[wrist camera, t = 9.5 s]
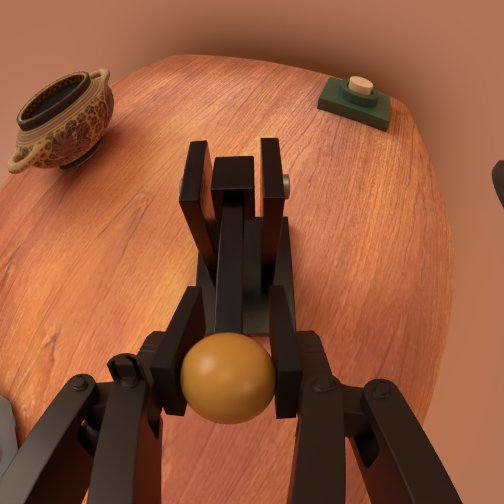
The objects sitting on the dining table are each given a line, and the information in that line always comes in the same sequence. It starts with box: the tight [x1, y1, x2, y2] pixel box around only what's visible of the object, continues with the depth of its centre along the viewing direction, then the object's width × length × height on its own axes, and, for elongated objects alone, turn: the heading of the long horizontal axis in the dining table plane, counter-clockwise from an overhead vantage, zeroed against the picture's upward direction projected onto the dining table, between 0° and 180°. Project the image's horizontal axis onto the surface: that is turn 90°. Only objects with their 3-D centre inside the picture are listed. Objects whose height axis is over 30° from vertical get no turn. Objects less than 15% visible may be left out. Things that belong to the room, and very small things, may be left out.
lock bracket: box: [179, 138, 296, 336], centre depth 20 cm, size 12×9×15 cm
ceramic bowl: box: [8, 69, 114, 174], centre depth 31 cm, size 24×18×15 cm
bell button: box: [348, 76, 373, 95], centre depth 36 cm, size 4×4×2 cm
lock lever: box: [180, 156, 277, 424], centre depth 12 cm, size 13×4×4 cm, turn 1°
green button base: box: [317, 77, 390, 132], centre depth 38 cm, size 12×10×4 cm
